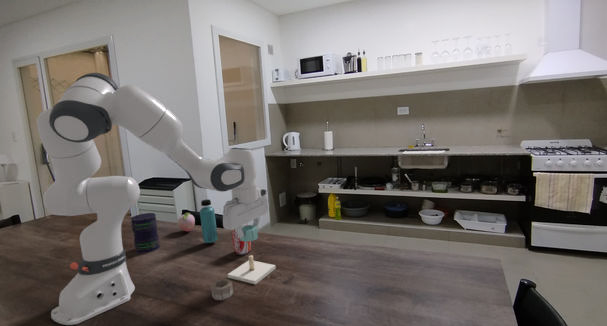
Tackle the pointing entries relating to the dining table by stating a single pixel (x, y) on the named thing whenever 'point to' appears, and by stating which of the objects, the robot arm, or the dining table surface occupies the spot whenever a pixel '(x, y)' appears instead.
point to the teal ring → (249, 233)
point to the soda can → (240, 243)
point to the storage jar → (145, 233)
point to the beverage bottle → (208, 222)
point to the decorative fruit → (186, 222)
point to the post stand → (251, 271)
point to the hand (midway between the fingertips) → (248, 233)
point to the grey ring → (222, 289)
